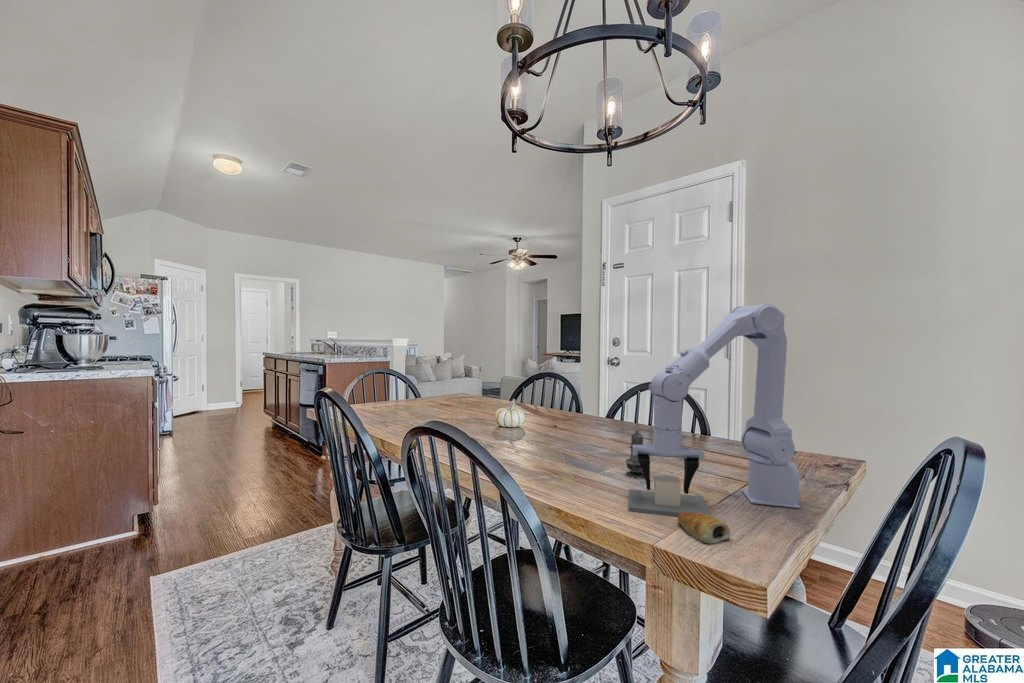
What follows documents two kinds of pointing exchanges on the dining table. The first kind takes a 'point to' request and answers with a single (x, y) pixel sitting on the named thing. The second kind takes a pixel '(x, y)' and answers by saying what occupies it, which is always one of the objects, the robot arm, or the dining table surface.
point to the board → (646, 504)
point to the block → (667, 490)
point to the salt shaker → (635, 458)
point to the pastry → (704, 527)
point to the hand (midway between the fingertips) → (666, 490)
